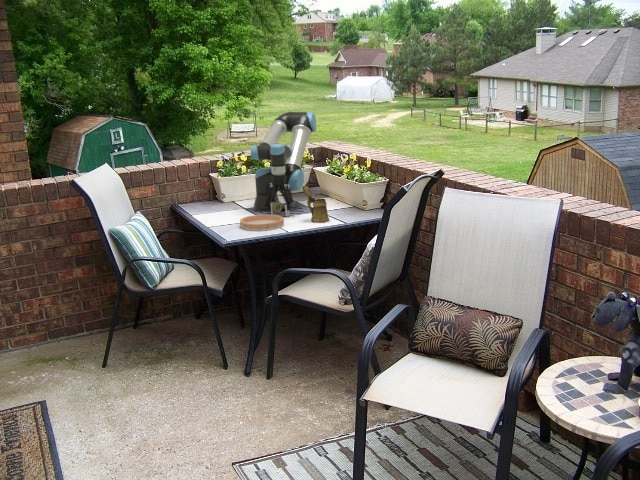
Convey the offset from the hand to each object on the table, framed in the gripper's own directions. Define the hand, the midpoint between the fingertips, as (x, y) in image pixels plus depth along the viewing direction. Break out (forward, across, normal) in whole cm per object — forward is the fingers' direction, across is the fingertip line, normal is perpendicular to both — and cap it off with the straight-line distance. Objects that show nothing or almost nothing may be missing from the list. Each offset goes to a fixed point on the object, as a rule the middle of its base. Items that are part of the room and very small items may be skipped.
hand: (280, 215), depth 376 cm
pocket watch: (0, 0, 0) cm, 0 cm away
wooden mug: (0, +24, 0) cm, 24 cm away
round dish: (0, +6, -22) cm, 23 cm away
